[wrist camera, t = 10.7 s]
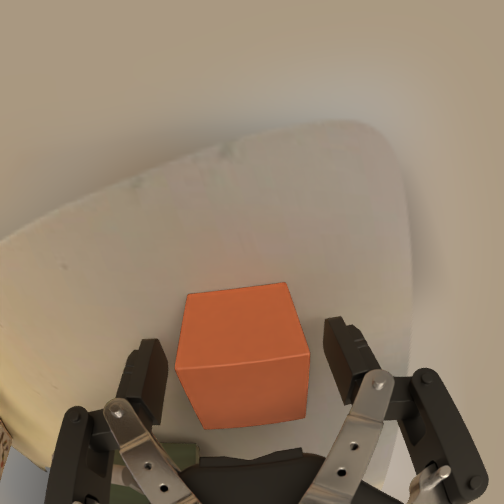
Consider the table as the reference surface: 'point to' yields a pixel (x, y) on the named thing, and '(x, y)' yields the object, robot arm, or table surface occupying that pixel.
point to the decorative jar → (4, 446)
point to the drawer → (125, 486)
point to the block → (243, 357)
